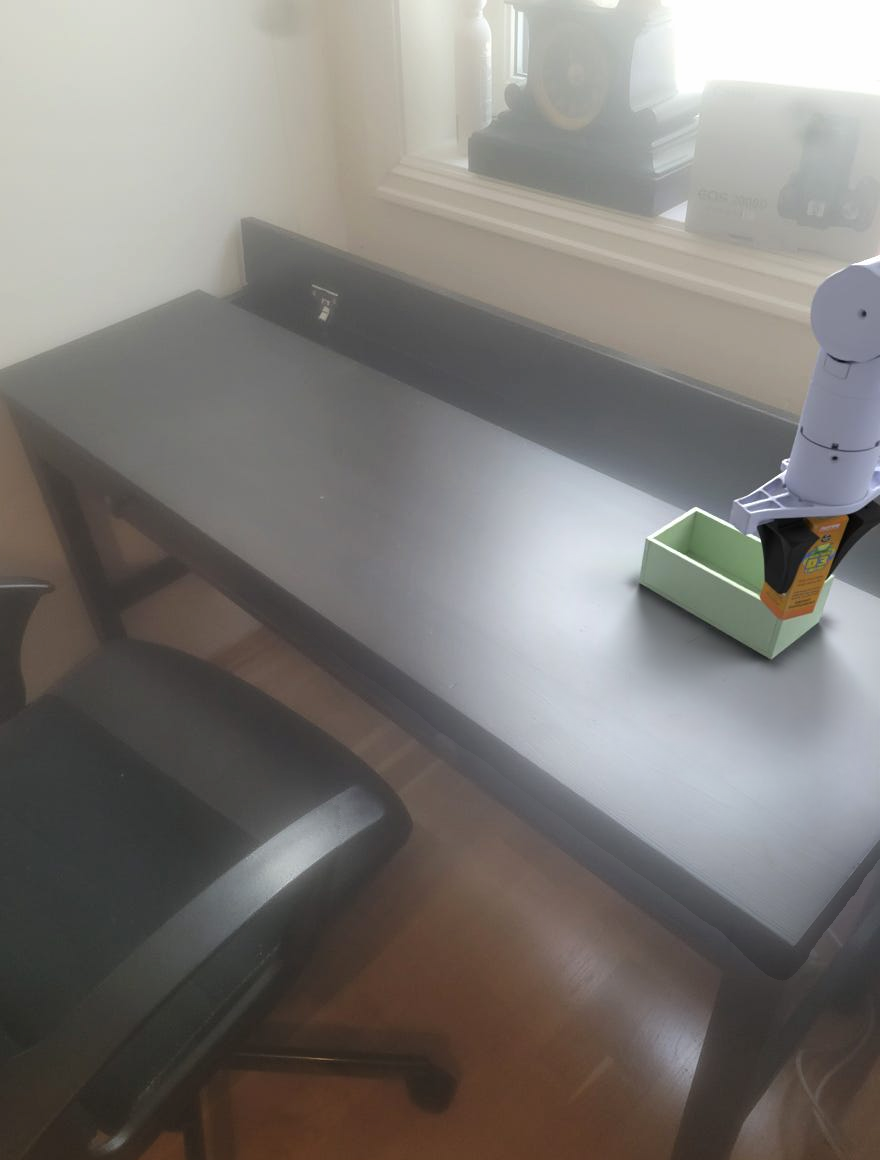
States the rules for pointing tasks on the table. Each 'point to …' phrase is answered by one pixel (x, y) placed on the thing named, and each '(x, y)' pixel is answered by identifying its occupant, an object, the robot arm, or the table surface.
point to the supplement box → (808, 570)
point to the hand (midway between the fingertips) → (795, 580)
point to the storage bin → (720, 580)
